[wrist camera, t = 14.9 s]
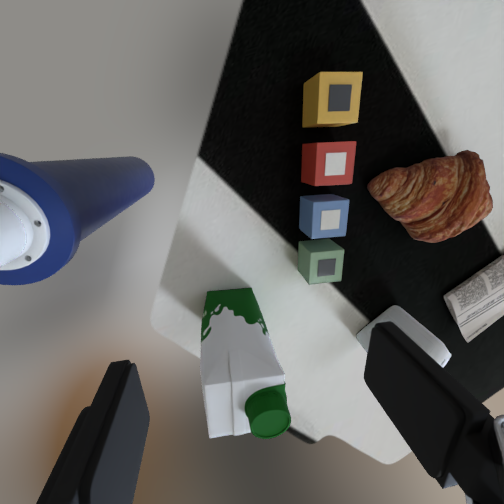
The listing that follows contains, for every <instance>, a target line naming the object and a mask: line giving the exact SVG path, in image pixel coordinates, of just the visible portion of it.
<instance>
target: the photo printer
mask: <svg viewBox="0 0 504 504" xmlns="http://www.w3.org/2000/svg"><path fill="white" fill-rule="evenodd" d="M387 321H391V322H393V323H394V324H395V325H397V326H398V327H399V328H400V329H401V330H402V331H403V332H404V333H405V334H406V335H408V336H409V337H410V338H411V339H412V340H413V341H414V342H415V343H416V344H417V345H418V346H420V347H421V348H422V349H423V350H424V351H425V352H426V353H427V354H428V355H429V356H431V357H432V358H433V359H434V360H435V361H436V362H437V363H438V364H439V365H440V366H441V367H444V366H445V365H446V363H447V362H448V360H449V359H450V357H451V354H450V353H449V351H448V350H447V348H446V346H445V345H444V343H443V342H442V341H441V340H439V339H438V338H437V337H436V336H435V335H433V334H432V333H431V332H430V331H429V330H427V329H426V328H425V327H424V326H422V325H421V324H420V323H419V322H418V321H416V320H415V319H414V318H413V317H412V316H410V315H409V314H408V313H407V312H406V311H404V310H403V309H402V308H401V307H399V306H396V305H393V306H391V307H390V308H388V309H387V310H386V311H385V312H383V313H382V314H381V315H380V316H378V317H377V318H376V319H374V320H373V321H372V322H371V323H370V324H368V325H367V326H366V327H365V328H363V329H362V330H361V331H360V332H359V333H358V334H357V340H358V342H359V343H360V344H361V345H362V347H363V348H364V349H365V351H366V352H367V353H368V348H369V342H370V336H371V330H372V328H373V327H374V326H375V324H376V323H380V322H387Z"/></svg>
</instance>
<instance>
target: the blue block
mask: <svg viewBox="0 0 504 504" xmlns="http://www.w3.org/2000/svg"><path fill="white" fill-rule="evenodd" d="M348 208H349V199H346V198H343V197H340V196H337V195H334V194H324V195H310V196H300V219H299V229H300V230H301V231H302V232H304V233H305V234H306V235H307V236H308V237H310V238H311V239H317V238H328V237H338V236H346V228H347V218H348Z"/></svg>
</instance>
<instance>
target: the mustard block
mask: <svg viewBox="0 0 504 504" xmlns="http://www.w3.org/2000/svg"><path fill="white" fill-rule="evenodd" d="M362 74H363V72H319V73H318V74H316V75H315V76H314V77H312V78H311V79H309V80H308V81H306V82H305V83H304V91H303V122H302V127H336V126H342V125H347V124H352V123H357V122H358V113H359V103H360V93H361V84H362Z"/></svg>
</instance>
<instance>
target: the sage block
mask: <svg viewBox="0 0 504 504" xmlns="http://www.w3.org/2000/svg"><path fill="white" fill-rule="evenodd" d="M343 257H344V249H343V248H341V247H340V246H338V245H337V244H336V243H334V242H333V241H331V240H330V239H319V240H309V241H299V248H298V271H299V272H300V274H301V275H302V276H303V277H304V279H305V280H306V281H307V283H308V284H309V285H310V284H319V283H327V282H335V281H341V277H342V267H343Z"/></svg>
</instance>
